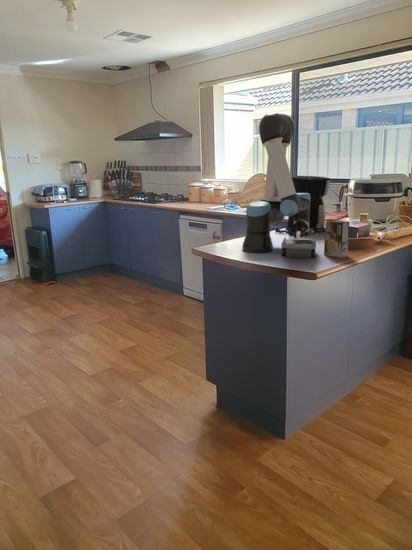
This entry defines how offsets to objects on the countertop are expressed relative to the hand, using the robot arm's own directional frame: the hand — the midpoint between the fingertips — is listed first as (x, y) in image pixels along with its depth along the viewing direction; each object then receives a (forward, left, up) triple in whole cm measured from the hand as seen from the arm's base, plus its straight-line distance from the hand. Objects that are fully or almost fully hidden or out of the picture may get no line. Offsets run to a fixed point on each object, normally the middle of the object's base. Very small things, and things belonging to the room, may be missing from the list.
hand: (297, 236), depth 182 cm
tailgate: (0, +12, -6) cm, 13 cm away
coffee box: (+17, +21, -12) cm, 30 cm away
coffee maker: (-3, +92, -12) cm, 92 cm away
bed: (0, +20, -12) cm, 23 cm away
